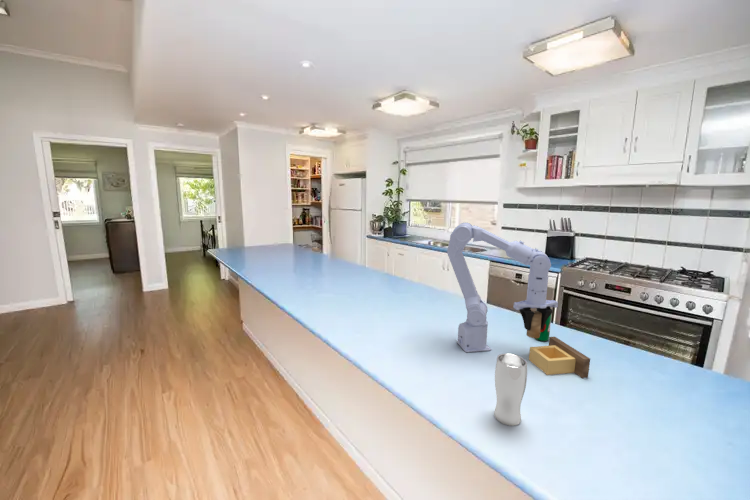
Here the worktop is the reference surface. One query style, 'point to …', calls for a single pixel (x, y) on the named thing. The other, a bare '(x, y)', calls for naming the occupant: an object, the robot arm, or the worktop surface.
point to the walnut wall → (581, 359)
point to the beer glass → (509, 388)
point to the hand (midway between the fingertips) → (533, 328)
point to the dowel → (535, 325)
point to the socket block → (552, 360)
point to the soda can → (545, 331)
